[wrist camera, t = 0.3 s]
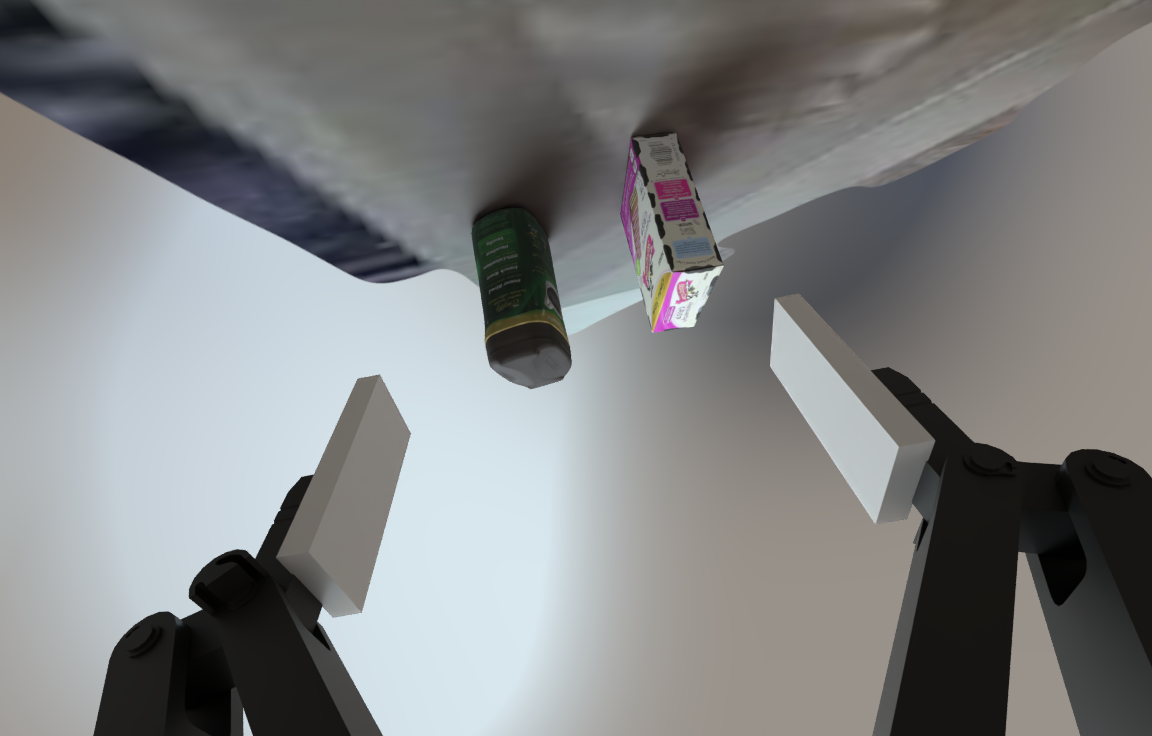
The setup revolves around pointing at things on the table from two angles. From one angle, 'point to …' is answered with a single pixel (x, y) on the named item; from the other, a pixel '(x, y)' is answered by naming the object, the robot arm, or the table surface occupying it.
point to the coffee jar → (520, 299)
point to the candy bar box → (667, 233)
